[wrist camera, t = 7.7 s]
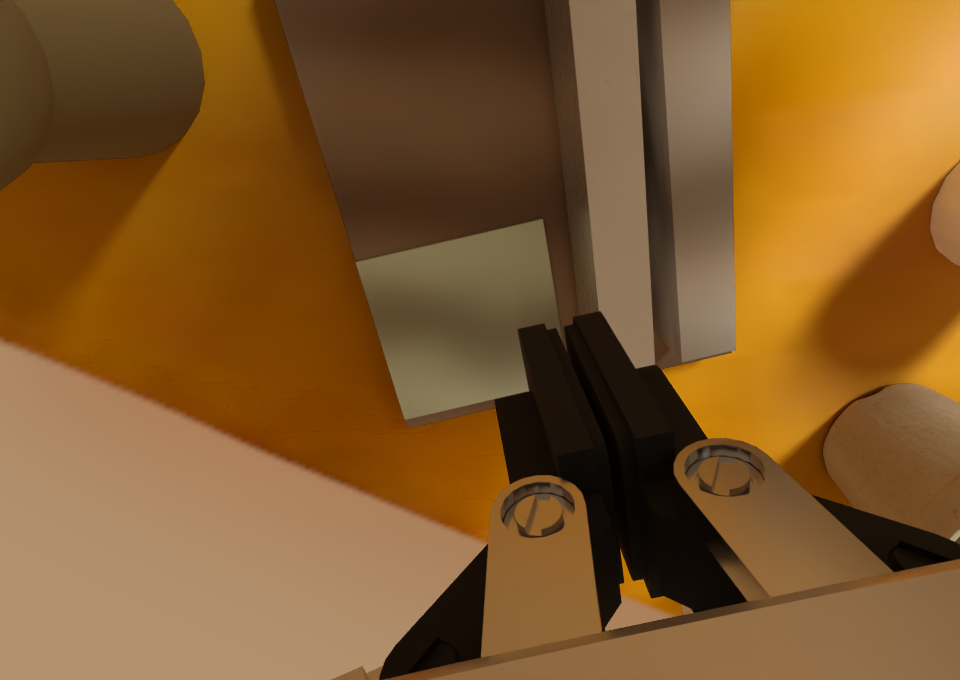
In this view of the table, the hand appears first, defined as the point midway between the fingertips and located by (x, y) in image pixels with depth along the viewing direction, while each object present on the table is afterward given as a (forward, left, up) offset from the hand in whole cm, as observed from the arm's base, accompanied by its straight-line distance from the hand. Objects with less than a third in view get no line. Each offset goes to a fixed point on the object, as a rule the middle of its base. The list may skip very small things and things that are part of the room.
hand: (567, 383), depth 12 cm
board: (-1, +2, -12) cm, 12 cm away
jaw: (-2, +4, -11) cm, 12 cm away
